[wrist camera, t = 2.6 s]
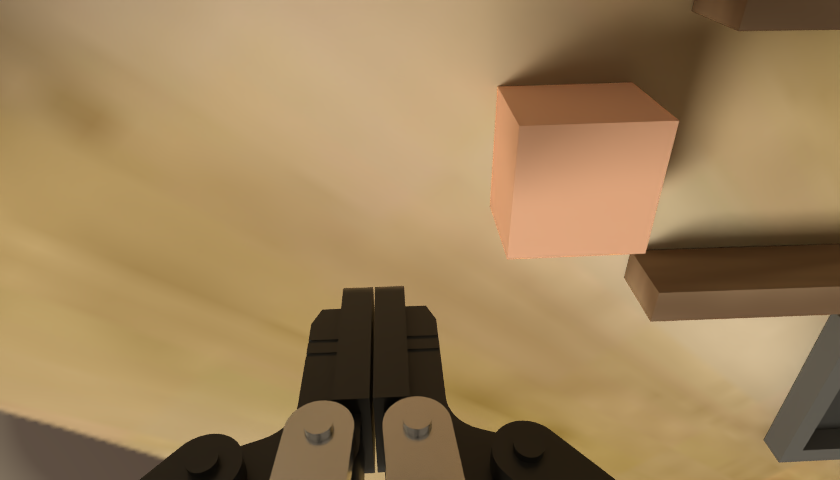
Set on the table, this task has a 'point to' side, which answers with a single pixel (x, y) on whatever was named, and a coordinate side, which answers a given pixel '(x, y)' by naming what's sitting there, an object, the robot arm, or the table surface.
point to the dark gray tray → (812, 405)
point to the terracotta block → (578, 168)
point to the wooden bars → (744, 266)
